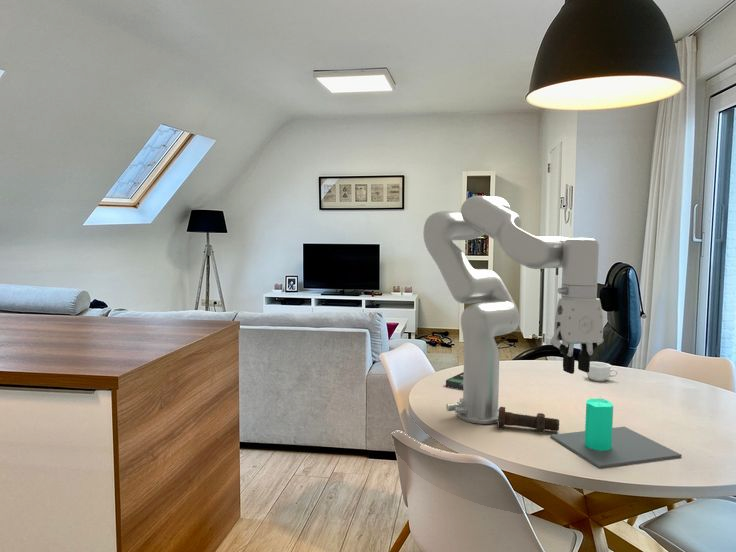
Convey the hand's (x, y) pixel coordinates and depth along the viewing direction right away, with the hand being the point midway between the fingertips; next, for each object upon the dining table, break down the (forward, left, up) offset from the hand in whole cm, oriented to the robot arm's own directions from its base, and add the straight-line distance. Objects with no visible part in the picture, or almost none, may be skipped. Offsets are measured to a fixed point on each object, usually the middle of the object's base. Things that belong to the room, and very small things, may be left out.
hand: (576, 370), depth 123 cm
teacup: (+47, +49, -20) cm, 71 cm away
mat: (+11, 0, -19) cm, 22 cm away
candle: (+7, 0, -19) cm, 20 cm away
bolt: (-2, +15, -20) cm, 25 cm away
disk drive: (+1, +56, -20) cm, 60 cm away
